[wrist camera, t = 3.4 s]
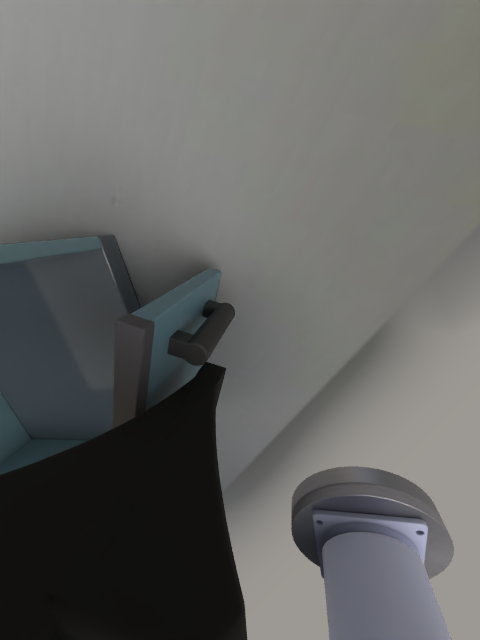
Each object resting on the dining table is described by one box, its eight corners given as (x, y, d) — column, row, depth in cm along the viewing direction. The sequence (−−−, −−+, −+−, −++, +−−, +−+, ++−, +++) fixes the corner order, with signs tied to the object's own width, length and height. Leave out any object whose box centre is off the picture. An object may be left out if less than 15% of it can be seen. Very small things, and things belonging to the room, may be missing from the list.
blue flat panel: (201, 452, 16) (148, 585, 10) (174, 442, 16) (108, 567, 10) (247, 278, 11) (195, 347, 5) (208, 266, 11) (113, 320, 5)
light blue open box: (195, 439, 18) (126, 593, 10) (46, 436, 21) (-81, 547, 14) (122, 232, 13) (-108, 250, 5) (-56, 275, 16) (-332, 321, 9)
